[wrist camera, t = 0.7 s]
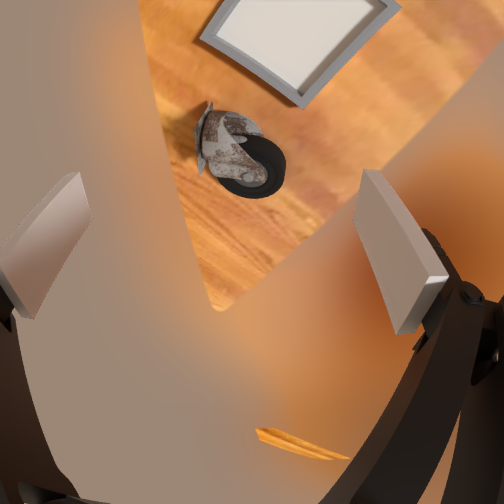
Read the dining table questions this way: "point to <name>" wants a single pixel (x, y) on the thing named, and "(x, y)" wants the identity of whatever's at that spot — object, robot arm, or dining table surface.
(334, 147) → the dining table surface
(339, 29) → the shallow rectangular tray
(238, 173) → the caster wheel
